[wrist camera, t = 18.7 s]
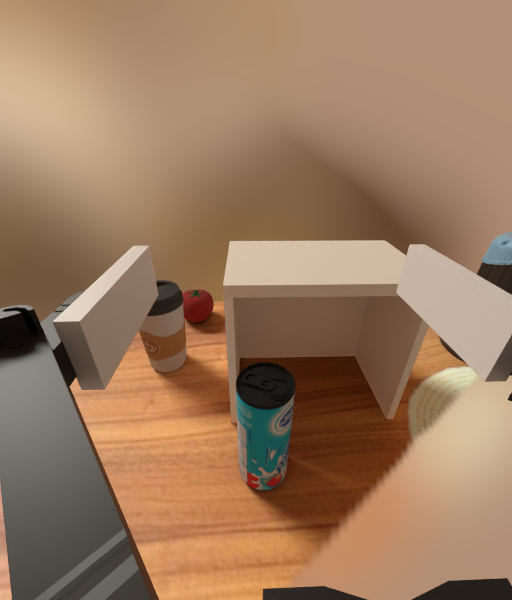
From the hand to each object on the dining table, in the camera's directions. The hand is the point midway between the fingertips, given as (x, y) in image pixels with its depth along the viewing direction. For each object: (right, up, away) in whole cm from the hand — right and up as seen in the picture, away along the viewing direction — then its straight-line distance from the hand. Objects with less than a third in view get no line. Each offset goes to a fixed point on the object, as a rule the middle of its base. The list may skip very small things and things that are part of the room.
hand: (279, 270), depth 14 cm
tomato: (-15, -6, +51) cm, 53 cm away
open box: (+7, -16, +33) cm, 37 cm away
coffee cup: (-17, -13, +38) cm, 44 cm away
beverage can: (0, -23, +21) cm, 31 cm away
